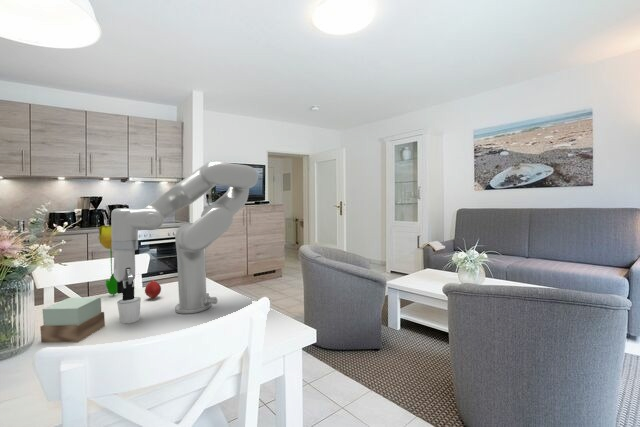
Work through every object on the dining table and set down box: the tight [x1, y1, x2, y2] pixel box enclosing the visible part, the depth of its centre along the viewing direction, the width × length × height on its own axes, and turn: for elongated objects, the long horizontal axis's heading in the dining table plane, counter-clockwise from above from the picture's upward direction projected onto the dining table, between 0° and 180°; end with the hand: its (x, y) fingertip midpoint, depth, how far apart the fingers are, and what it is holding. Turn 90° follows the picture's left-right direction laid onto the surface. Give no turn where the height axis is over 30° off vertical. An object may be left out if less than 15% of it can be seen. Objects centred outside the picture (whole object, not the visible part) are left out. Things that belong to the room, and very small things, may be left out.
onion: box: [144, 279, 162, 300], centre depth 129 cm, size 6×6×8 cm
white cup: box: [116, 296, 141, 325], centre depth 107 cm, size 7×7×7 cm
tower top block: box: [42, 296, 102, 326], centre depth 97 cm, size 10×10×5 cm
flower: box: [98, 224, 118, 297], centre depth 133 cm, size 9×8×30 cm
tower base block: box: [39, 311, 106, 343], centre depth 97 cm, size 11×11×5 cm
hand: (125, 296), depth 106 cm, fingers open, 9 cm apart
